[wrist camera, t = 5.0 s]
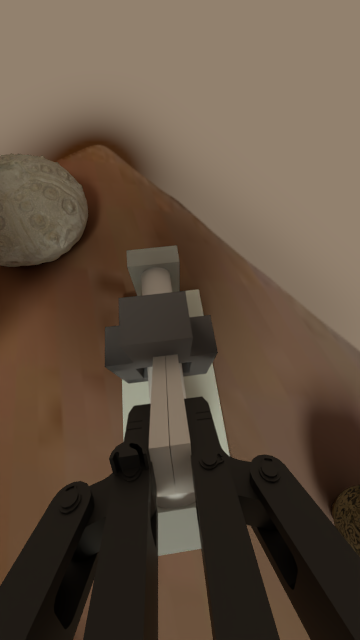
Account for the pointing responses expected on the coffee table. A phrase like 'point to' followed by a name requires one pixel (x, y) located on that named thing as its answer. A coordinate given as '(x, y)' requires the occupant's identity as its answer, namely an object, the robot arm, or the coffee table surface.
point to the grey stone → (38, 210)
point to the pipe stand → (180, 509)
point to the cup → (348, 516)
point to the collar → (158, 336)
